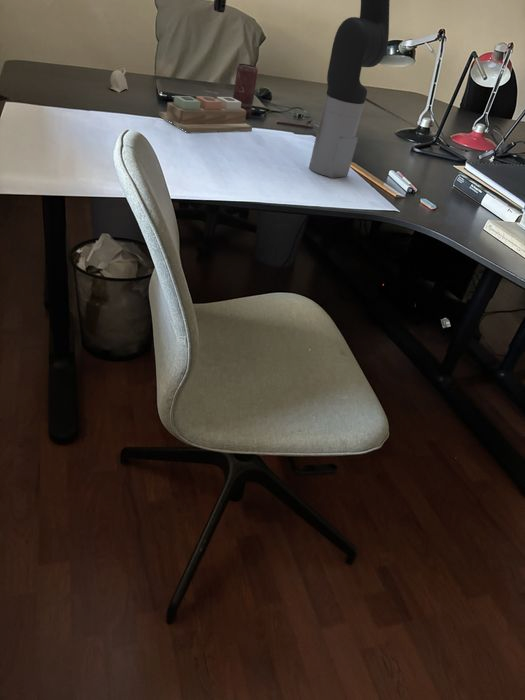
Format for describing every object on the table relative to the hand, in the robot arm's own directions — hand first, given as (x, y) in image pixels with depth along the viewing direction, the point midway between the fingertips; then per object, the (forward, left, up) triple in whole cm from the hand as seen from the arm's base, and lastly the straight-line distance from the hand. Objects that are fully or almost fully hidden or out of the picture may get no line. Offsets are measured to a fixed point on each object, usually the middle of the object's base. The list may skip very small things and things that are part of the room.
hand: (218, 11), depth 130 cm
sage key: (0, +7, -23) cm, 24 cm away
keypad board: (0, 0, -27) cm, 27 cm away
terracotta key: (0, 0, -23) cm, 23 cm away
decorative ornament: (+34, +9, -27) cm, 44 cm away
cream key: (0, -7, -23) cm, 24 cm away
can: (+7, -18, -27) cm, 33 cm away
